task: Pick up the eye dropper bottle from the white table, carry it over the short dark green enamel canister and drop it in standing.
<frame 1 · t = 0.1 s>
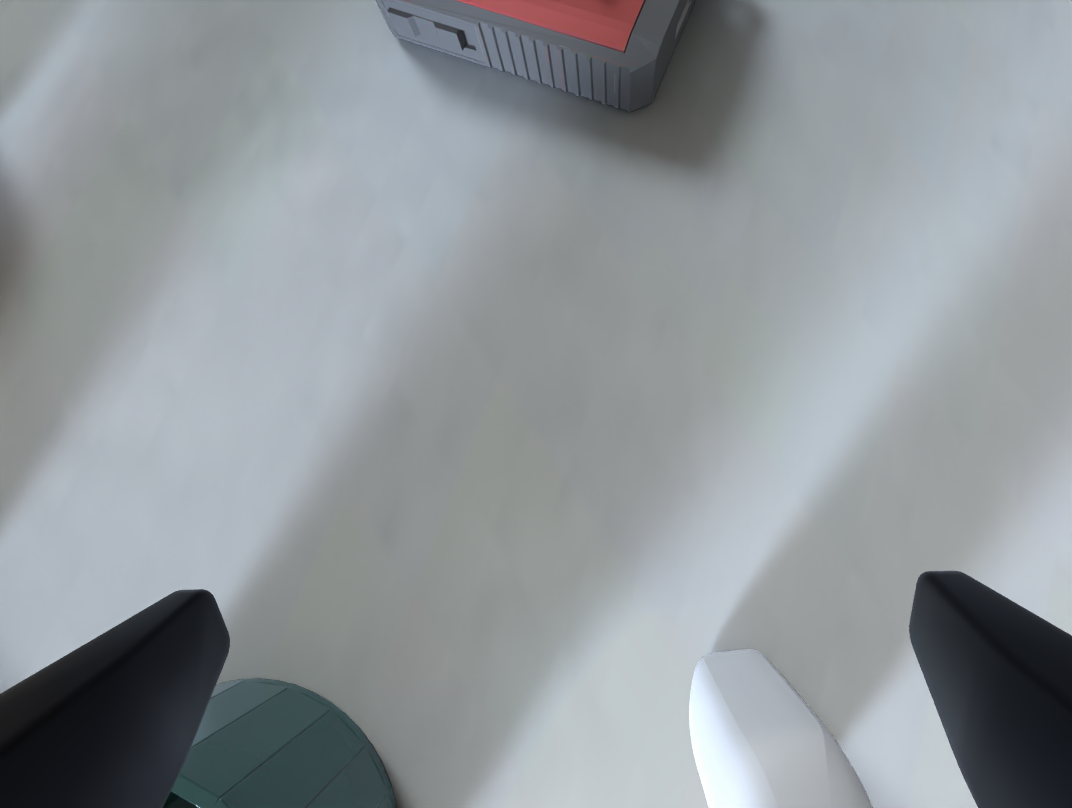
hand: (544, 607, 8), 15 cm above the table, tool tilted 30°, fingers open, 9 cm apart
eye dropper bottle: (740, 730, 22), on the table
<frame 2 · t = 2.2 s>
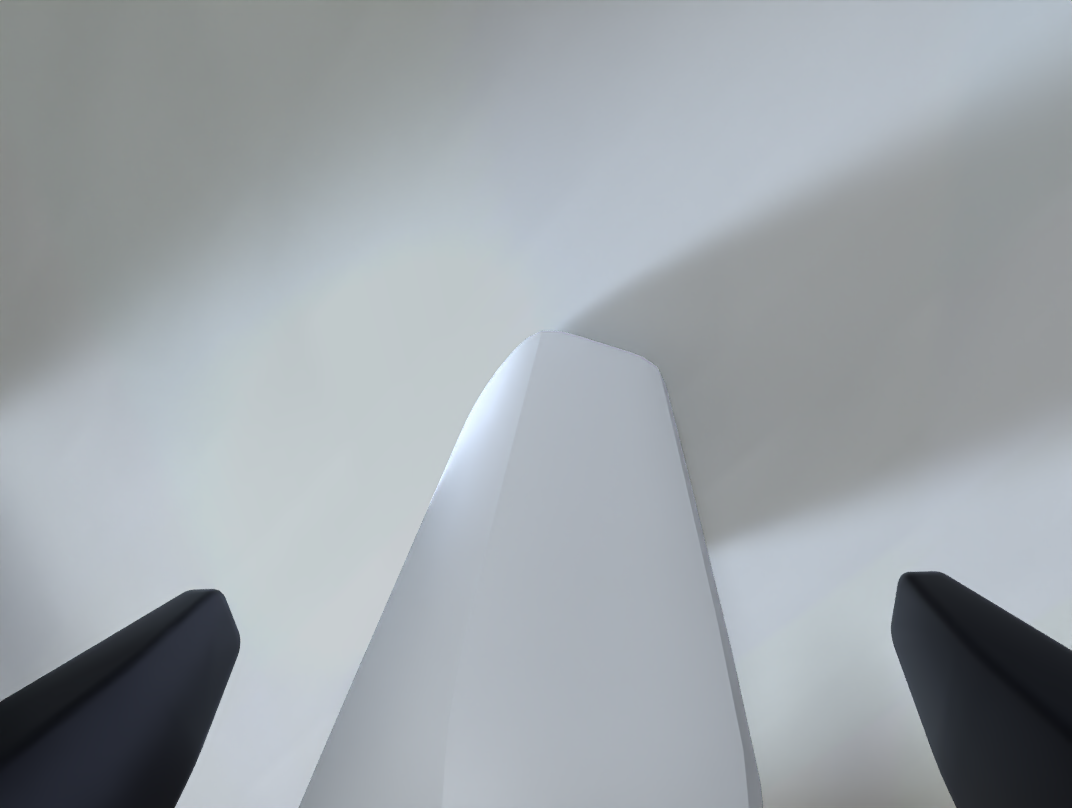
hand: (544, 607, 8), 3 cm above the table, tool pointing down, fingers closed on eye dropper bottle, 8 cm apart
eye dropper bottle: (551, 472, 11), on the table, touching gripper
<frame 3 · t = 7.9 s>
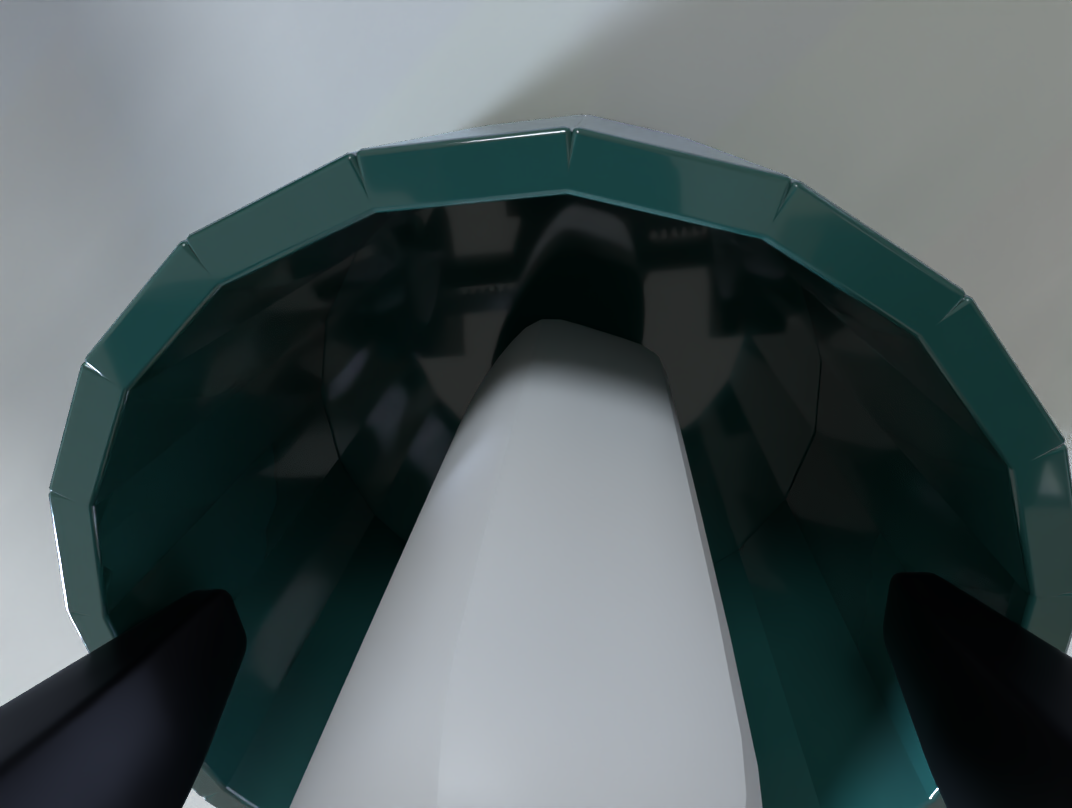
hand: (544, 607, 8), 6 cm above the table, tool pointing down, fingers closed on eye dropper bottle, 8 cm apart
eye dropper bottle: (551, 461, 11), point 2 cm above the table, touching gripper
canister: (564, 401, 13), on the table
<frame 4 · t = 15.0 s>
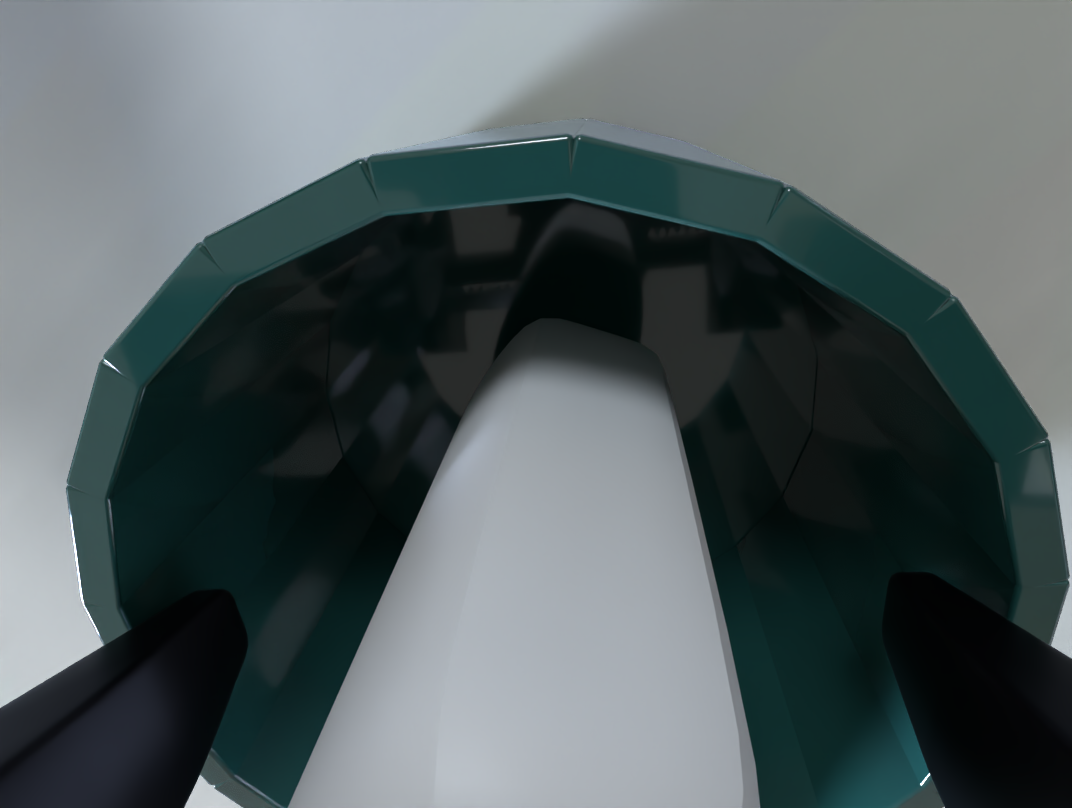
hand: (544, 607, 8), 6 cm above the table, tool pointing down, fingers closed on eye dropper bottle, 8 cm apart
eye dropper bottle: (550, 461, 11), point 3 cm above the table, touching gripper
canister: (564, 400, 14), on the table
when the fingers open (7 cm above the table, at t = 21.3 s): eye dropper bottle drops 3 cm, resting on canister.
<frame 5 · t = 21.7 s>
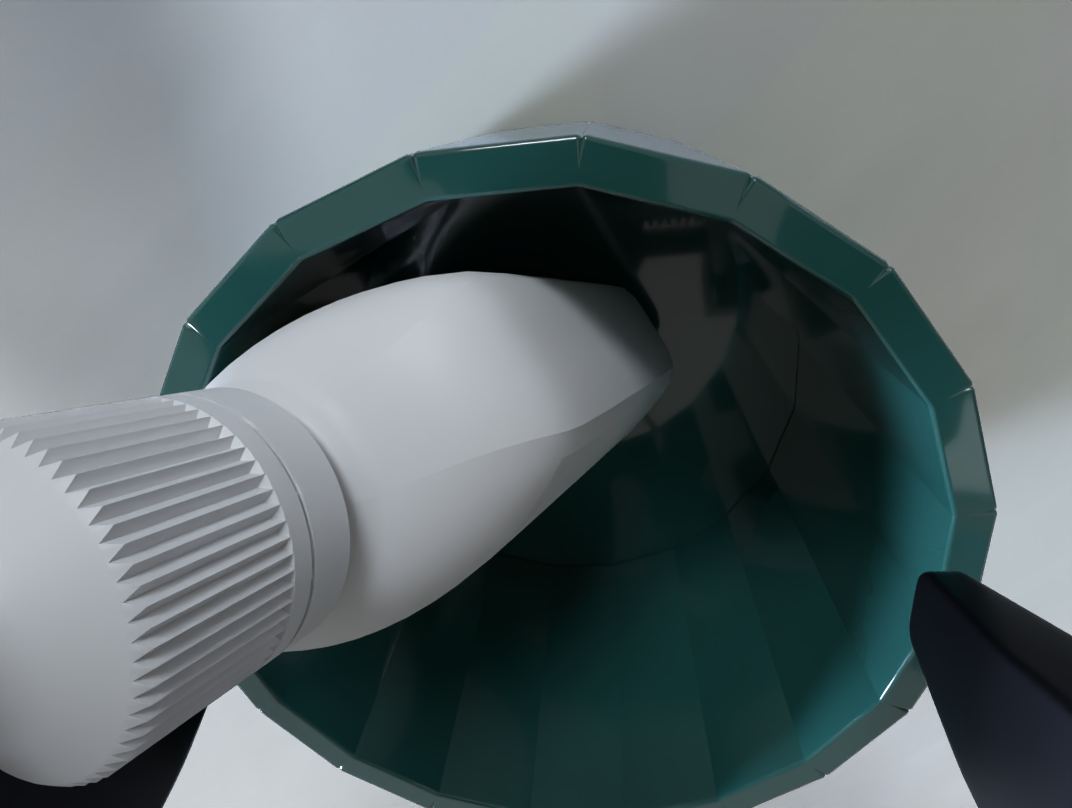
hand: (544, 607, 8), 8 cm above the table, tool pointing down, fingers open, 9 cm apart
eye dropper bottle: (550, 392, 14), point 1 cm above the table, touching canister
canister: (568, 380, 15), on the table
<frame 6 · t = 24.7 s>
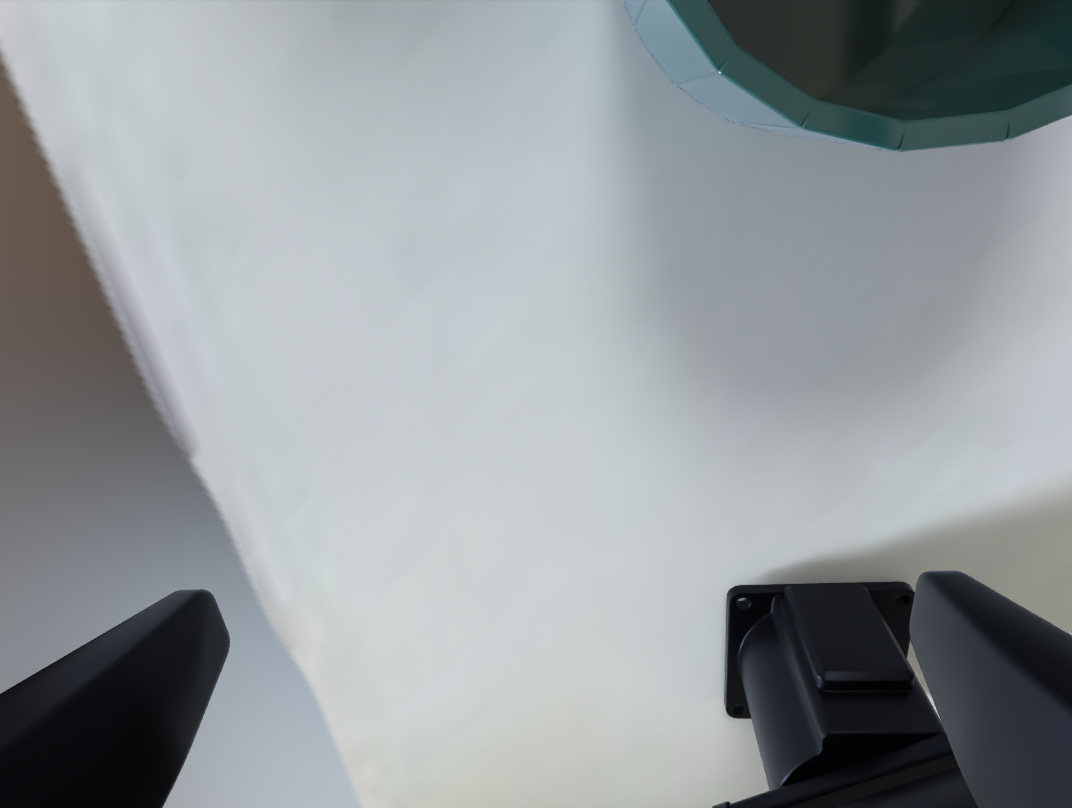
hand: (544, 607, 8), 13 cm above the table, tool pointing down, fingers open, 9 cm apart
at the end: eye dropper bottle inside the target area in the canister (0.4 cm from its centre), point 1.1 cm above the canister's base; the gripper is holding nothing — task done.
